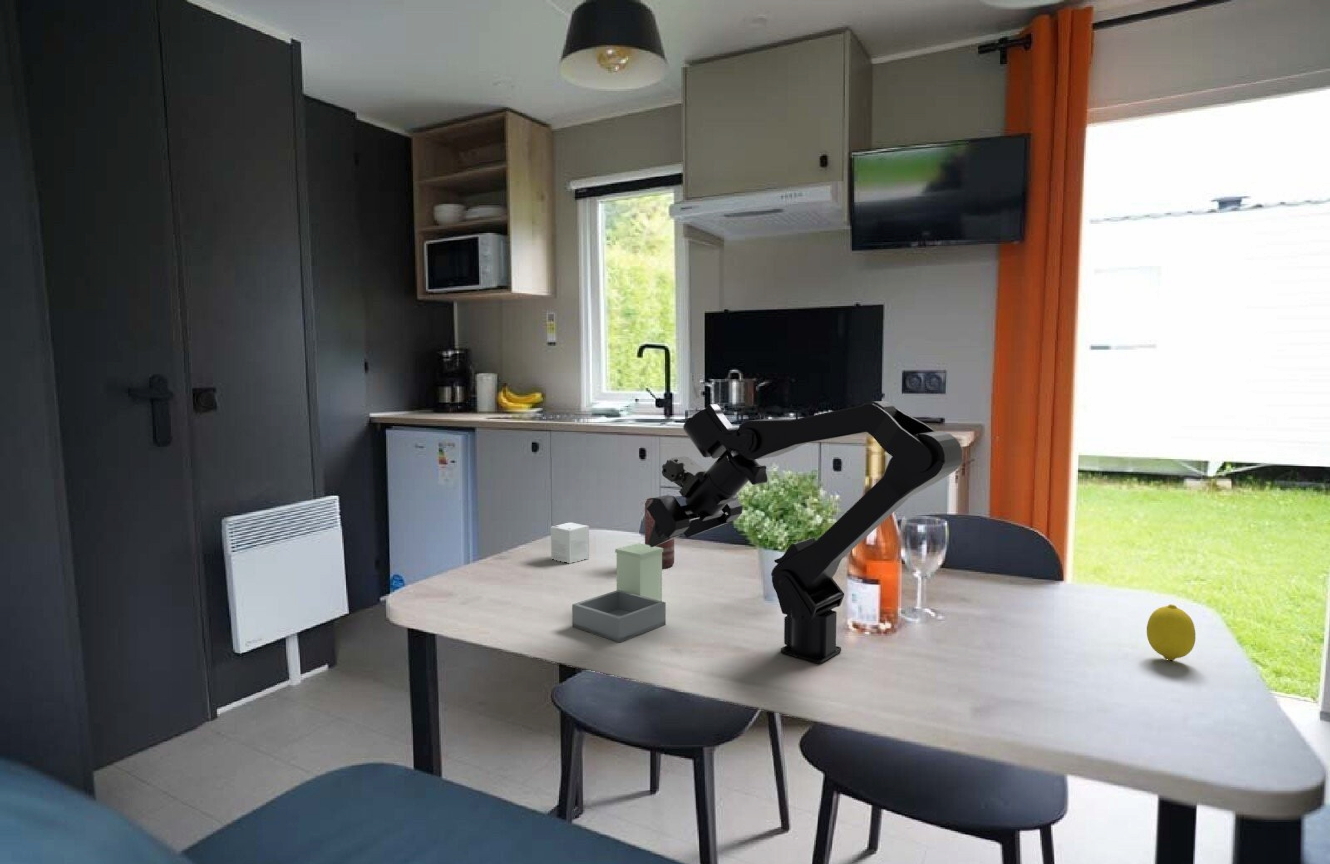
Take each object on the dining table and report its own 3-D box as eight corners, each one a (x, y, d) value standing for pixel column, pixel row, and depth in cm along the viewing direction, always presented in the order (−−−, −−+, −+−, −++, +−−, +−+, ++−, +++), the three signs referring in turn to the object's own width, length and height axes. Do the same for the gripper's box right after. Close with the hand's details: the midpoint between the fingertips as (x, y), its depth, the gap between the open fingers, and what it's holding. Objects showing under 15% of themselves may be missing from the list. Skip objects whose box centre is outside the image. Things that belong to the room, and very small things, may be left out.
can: (672, 569, 147) (672, 501, 146) (642, 568, 149) (642, 500, 148) (677, 562, 153) (678, 497, 152) (648, 560, 155) (648, 496, 154)
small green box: (663, 605, 125) (663, 548, 124) (640, 613, 120) (640, 554, 119) (638, 598, 128) (638, 543, 128) (615, 606, 124) (615, 548, 123)
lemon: (1195, 672, 96) (1199, 613, 96) (1145, 663, 99) (1148, 606, 99) (1192, 658, 101) (1195, 602, 100) (1144, 650, 104) (1147, 596, 103)
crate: (665, 624, 115) (665, 602, 114) (619, 642, 107) (619, 618, 107) (618, 610, 122) (618, 589, 121) (572, 626, 114) (572, 604, 113)
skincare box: (590, 559, 156) (590, 525, 156) (568, 564, 152) (568, 529, 151) (571, 554, 160) (571, 521, 160) (550, 559, 156) (549, 525, 155)
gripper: (728, 437, 122) (677, 495, 130) (656, 445, 108) (603, 509, 116) (767, 488, 118) (712, 544, 126) (697, 503, 103) (640, 566, 111)
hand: (668, 539), depth 120 cm, fingers open, 9 cm apart
